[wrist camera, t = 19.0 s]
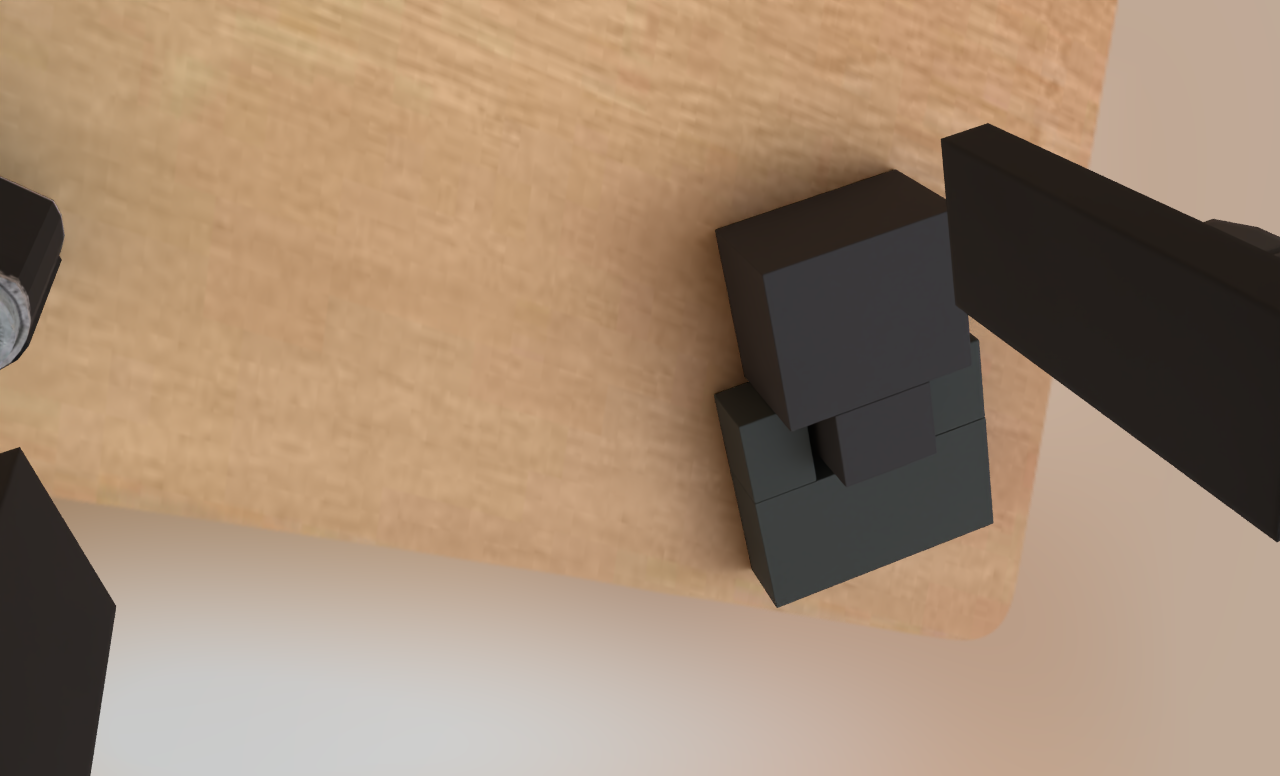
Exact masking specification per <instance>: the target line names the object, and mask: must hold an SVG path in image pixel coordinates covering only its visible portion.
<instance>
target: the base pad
mask: <svg viewBox="0 0 1280 776" xmlns="http://www.w3.org/2000/svg"><path fill="white" fill-rule="evenodd" d="M970 345H971V357H972V366H969V367H967V368H964V369H961V370H958V371H956V372H953V373H950V374H948V375H945V376H942V377H939V378H937V379H934V380H931V381H929V382H930V389H931V398H932V408H933V418H934V427H935V437H936V446H937V454H935V455H932V456H929V457H927V458H924V459H921V460H919V461H916V462H913V463H911V464H908V465H905V466H903V467H900V468H897V469H895V470H892V471H889V472H887V473H884V474H882V475H879V476H876V477H874V478H871V479H868V480H866V481H863V482H860V483H858V484H855V485H852V486H850V487H845V486H844V484H843V483H842V482H841V481H840V480H839V478H838V477H837V476H836V475H835V474H834V473H833V471H832V470H831V469H830V468H829V467H828V466H827V464H826V463H825V462H824V461H823V460H822V459H821V457H820V456H819V455H818V454H817V453H816V451H815V450H814V449H813V448H812V447H811V445H810V439H809V433H808V428H807V426H806V427H803V428H800V429H798V430H795V431H792V432H791V431H790V430H789V429H788V428H787V427H786V425H785V424H784V423H783V422H782V421H781V419H780V418H779V417H778V416H777V415H776V413H775V412H774V411H773V410H772V409H771V407H770V406H769V405H768V404H767V403H766V401H765V400H764V399H763V398H762V397H761V396H760V394H759V393H758V392H757V391H756V390H755V388H754V387H753V386H752V385H751V384H750V382H747V383H745V384H742V385H739V386H736V387H733V388H731V389H728V390H725V391H722V392H720V393H717V394H714V398H715V403H716V407H717V412H718V416H719V421H720V426H721V430H722V435H723V439H724V444H725V448H726V453H727V457H728V462H729V466H730V471H731V476H732V480H733V485H734V490H735V494H736V499H737V503H738V508H739V512H740V517H741V521H742V526H743V530H744V535H745V540H746V544H747V549H748V553H749V558H750V562H751V567H752V570H753V572H754V573H755V575H756V577H757V578H758V580H759V581H760V583H761V584H762V586H763V587H764V589H765V591H766V592H767V594H768V595H769V597H770V598H771V600H772V601H773V603H774V604H775V606H776V607H777V608H778V607H781V606H783V605H786V604H788V603H791V602H794V601H796V600H799V599H801V598H804V597H806V596H809V595H811V594H814V593H817V592H819V591H822V590H824V589H827V588H829V587H832V586H834V585H837V584H840V583H842V582H845V581H847V580H850V579H852V578H855V577H857V576H860V575H863V574H865V573H868V572H870V571H873V570H875V569H878V568H880V567H883V566H886V565H888V564H891V563H893V562H896V561H898V560H901V559H903V558H906V557H908V556H911V555H914V554H916V553H919V552H921V551H924V550H926V549H929V548H931V547H934V546H937V545H939V544H942V543H944V542H947V541H949V540H952V539H954V538H957V537H960V536H962V535H965V534H967V533H970V532H972V531H975V530H977V529H980V528H983V527H985V526H988V525H990V524H993V511H992V498H991V485H990V472H989V459H988V446H987V433H986V420H985V417H984V416H985V412H984V399H983V386H982V373H981V360H980V347H979V340H978V339H977V338H976V337H974V336H973V335H972V334H971V333H970Z"/></svg>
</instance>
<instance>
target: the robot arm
mask: <svg viewBox="0 0 1280 776" xmlns="http://www.w3.org/2000/svg"><path fill="white" fill-rule="evenodd" d="M941 147H942V158H943V170H944V181H945V193H946V204H947V215H948V227H949V238H950V250H951V261H952V273H953V284H954V296H955V305H956V306H957V307H958V308H960V309H961V310H962V311H964V312H965V313H966V314H968V315H969V316H971V317H972V318H973V319H975V320H976V321H977V322H979V323H980V324H981V325H983V326H984V327H985V328H987V329H988V330H990V331H991V332H992V333H994V334H995V335H996V336H998V337H999V338H1000V339H1002V340H1003V341H1004V342H1006V343H1007V344H1008V345H1010V346H1011V347H1013V348H1014V349H1015V350H1017V351H1018V352H1019V353H1021V354H1022V355H1023V356H1025V357H1026V358H1027V359H1029V360H1030V361H1032V362H1033V363H1034V364H1036V365H1037V366H1038V367H1040V368H1041V369H1042V370H1044V371H1045V372H1046V373H1048V374H1049V375H1051V376H1052V377H1053V378H1055V379H1056V380H1057V381H1059V382H1060V383H1061V384H1063V385H1064V386H1066V387H1067V388H1068V389H1070V390H1071V391H1072V392H1074V393H1075V394H1076V395H1078V396H1079V397H1080V398H1082V399H1083V400H1084V401H1086V402H1087V403H1089V404H1090V405H1091V406H1093V407H1094V408H1096V409H1097V410H1098V411H1100V412H1101V413H1102V414H1103V415H1105V416H1106V417H1108V418H1109V419H1110V420H1112V421H1113V422H1114V423H1116V424H1117V425H1119V426H1120V427H1121V428H1123V429H1124V430H1125V431H1127V432H1128V433H1129V434H1131V435H1132V436H1133V437H1135V438H1136V439H1137V440H1139V441H1140V442H1142V443H1143V444H1144V445H1146V446H1147V447H1148V448H1150V449H1151V450H1152V451H1154V452H1155V453H1156V454H1158V455H1159V456H1160V457H1162V458H1163V459H1165V460H1166V461H1167V462H1169V463H1170V464H1171V465H1173V466H1174V467H1175V468H1177V469H1178V470H1179V471H1181V472H1182V473H1184V474H1185V475H1186V476H1188V477H1189V478H1190V479H1192V480H1193V481H1194V482H1196V483H1197V484H1199V485H1200V486H1201V487H1203V488H1204V489H1205V490H1207V491H1208V492H1209V493H1211V494H1212V495H1214V496H1215V497H1216V498H1218V499H1219V500H1220V501H1222V502H1223V503H1224V504H1226V505H1227V506H1228V507H1230V508H1231V509H1232V510H1234V511H1235V512H1236V513H1238V514H1239V515H1241V516H1242V517H1243V518H1245V519H1246V520H1247V521H1249V522H1250V523H1252V524H1253V525H1254V526H1255V527H1257V528H1258V529H1260V530H1261V531H1262V532H1264V533H1265V534H1267V535H1268V536H1269V537H1270V538H1272V539H1273V540H1275V541H1276V542H1279V541H1280V237H1279V236H1276V235H1274V234H1272V233H1270V232H1267V231H1265V230H1263V229H1261V228H1258V227H1254V226H1248V225H1243V224H1237V223H1232V222H1227V221H1221V220H1216V219H1211V220H1209V221H1206V222H1202V221H1199V220H1197V219H1195V218H1193V217H1191V216H1188V215H1186V214H1184V213H1182V212H1180V211H1178V210H1175V209H1173V208H1171V207H1169V206H1167V205H1165V204H1162V203H1160V202H1158V201H1156V200H1154V199H1152V198H1149V197H1147V196H1145V195H1143V194H1141V193H1138V192H1136V191H1134V190H1132V189H1130V188H1127V187H1125V186H1123V185H1121V184H1119V183H1117V182H1115V181H1113V180H1110V179H1108V178H1106V177H1104V176H1101V175H1099V174H1097V173H1095V172H1093V171H1091V170H1089V169H1086V168H1084V167H1082V166H1080V165H1078V164H1076V163H1073V162H1071V161H1069V160H1067V159H1065V158H1063V157H1060V156H1058V155H1056V154H1054V153H1052V152H1050V151H1047V150H1045V149H1043V148H1041V147H1039V146H1036V145H1034V144H1032V143H1030V142H1028V141H1026V140H1023V139H1021V138H1019V137H1017V136H1015V135H1013V134H1010V133H1008V132H1006V131H1004V130H1002V129H1000V128H997V127H995V126H993V125H991V124H989V123H987V124H984V125H981V126H978V127H975V128H972V129H969V130H966V131H963V132H960V133H957V134H954V135H951V136H948V137H945V138H942V139H941ZM115 611H116V605H115V603H114V602H113V600H112V598H111V597H110V595H109V594H108V592H107V590H106V589H105V587H104V585H103V584H102V582H101V580H100V579H99V577H98V575H97V574H96V572H95V570H94V569H93V567H92V565H91V564H90V562H89V560H88V559H87V557H86V556H85V554H84V552H83V551H82V549H81V547H80V546H79V544H78V542H77V541H76V539H75V537H74V536H73V534H72V532H71V531H70V529H69V527H68V526H67V524H66V522H65V521H64V519H63V518H62V516H61V514H60V513H59V511H58V509H57V508H56V506H55V504H54V503H53V501H52V499H51V498H50V496H49V494H48V493H47V491H46V489H45V488H44V486H43V485H42V483H41V481H40V480H39V478H38V476H37V475H36V473H35V471H34V470H33V468H32V466H31V465H30V463H29V461H28V460H27V458H26V456H25V455H24V453H23V451H22V450H21V448H20V447H18V448H15V449H12V450H9V451H6V452H3V453H0V776H90V774H91V767H92V761H93V755H94V748H95V742H96V735H97V729H98V721H99V715H100V709H101V702H102V696H103V690H104V683H105V676H106V670H107V663H108V657H109V650H110V644H111V637H112V631H113V624H114V618H115Z"/></svg>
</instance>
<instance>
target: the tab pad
mask: <svg viewBox="0 0 1280 776" xmlns="http://www.w3.org/2000/svg"><path fill="white" fill-rule="evenodd" d="M715 232H716V237H717V242H718V247H719V252H720V257H721V262H722V267H723V272H724V277H725V282H726V287H727V292H728V297H729V302H730V307H731V312H732V317H733V322H734V327H735V332H736V337H737V342H738V347H739V352H740V357H741V362H742V367H743V372H744V376H745V378H746V379H747V380H748V381H749V382H750V384H751V385H752V386H753V387H754V388H755V390H756V391H757V392H758V393H759V394H760V396H761V397H762V398H763V399H764V400H765V401H766V403H767V404H768V405H769V406H770V407H771V409H772V410H773V411H774V412H775V413H776V415H777V416H778V417H779V418H780V419H781V421H782V422H783V423H784V424H785V425H786V427H787V428H788V429H789V430H790V431H791V432H792V431H795V430H798V429H800V428H803V427H806V426H807V428H808V433H809V439H810V445H811V447H812V448H813V449H814V450H815V451H816V453H817V454H818V455H819V456H820V457H821V459H822V460H823V461H824V462H825V463H826V464H827V466H828V467H829V468H830V469H831V470H832V471H833V473H834V474H835V475H836V476H837V477H838V478H839V480H840V481H841V482H842V483H843V484H844V486H845V487H850V486H852V485H855V484H858V483H860V482H863V481H866V480H868V479H871V478H874V477H876V476H879V475H882V474H884V473H887V472H889V471H892V470H895V469H897V468H900V467H903V466H905V465H908V464H911V463H913V462H916V461H919V460H921V459H924V458H927V457H929V456H932V455H935V454H937V446H936V437H935V427H934V418H933V408H932V398H931V389H930V382H929V381H931V380H934V379H937V378H939V377H942V376H945V375H948V374H950V373H953V372H956V371H958V370H961V369H964V368H967V367H969V366H972V357H971V345H970V333H969V320H968V314H966V313H965V312H964V311H962V310H961V309H960V308H958V307H957V306H956V305H955V296H954V284H953V273H952V261H951V250H950V238H949V227H948V215H947V204H946V199H945V198H943V197H941V196H939V195H938V194H936V193H934V192H933V191H931V190H929V189H928V188H926V187H924V186H923V185H921V184H919V183H918V182H916V181H914V180H913V179H911V178H909V177H908V176H906V175H904V174H903V173H901V172H899V171H898V170H892V171H889V172H886V173H883V174H880V175H877V176H874V177H871V178H868V179H865V180H862V181H859V182H856V183H853V184H850V185H847V186H844V187H841V188H838V189H835V190H832V191H829V192H826V193H823V194H820V195H817V196H815V197H812V198H809V199H806V200H803V201H800V202H797V203H794V204H791V205H788V206H785V207H782V208H779V209H776V210H773V211H770V212H767V213H764V214H761V215H758V216H755V217H752V218H749V219H746V220H743V221H740V222H737V223H734V224H731V225H728V226H725V227H722V228H719V229H716V230H715Z"/></svg>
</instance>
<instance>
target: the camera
mask: <svg viewBox="0 0 1280 776" xmlns="http://www.w3.org/2000/svg"><path fill="white" fill-rule="evenodd" d="M64 236H65V234H64V228H63V221H62V215H61V213H60V211H59V210H58V208H57V206H56V204H55V202H54V200H51V199H49V198H47V197H45V196H43V195H40V194H38V193H36V192H34V191H32V190H29V189H27V188H25V187H23V186H20V185H18V184H16V183H14V182H12V181H9V180H7V179H5V178H3V177H1V176H0V370H1V369H2V368H4V367H6V366H8V365H9V364H11V363H13V362H15V361H16V360H18V359H19V358H20V356H21V355H22V354H23V352H24V351H25V350H26V349H27V347H28V346H29V344H30V341H31V339H32V336H33V334H34V331H35V328H36V326H37V323H38V321H39V318H40V315H41V313H42V310H43V307H44V305H45V302H46V300H47V297H48V294H49V292H50V289H51V286H52V284H53V281H54V279H55V276H56V273H57V271H58V268H59V266H60V263H61V260H62V259H61V258H60V256H59V254H60V252H61V249H62V245H63V241H64Z"/></svg>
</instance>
